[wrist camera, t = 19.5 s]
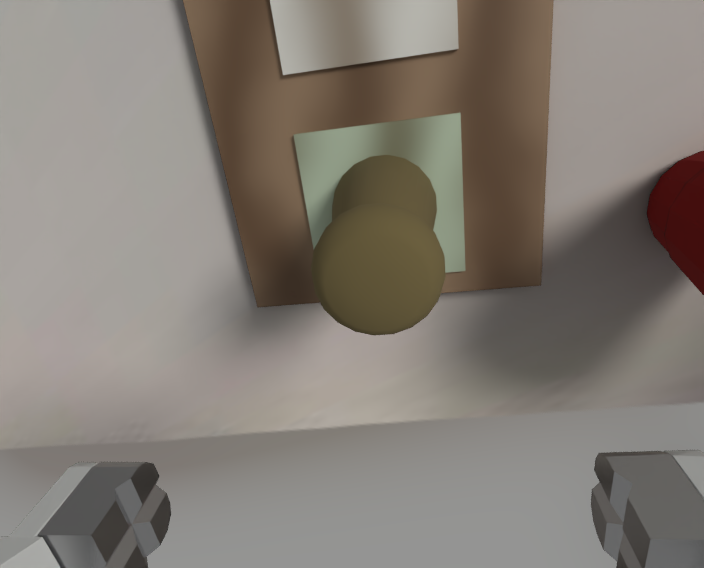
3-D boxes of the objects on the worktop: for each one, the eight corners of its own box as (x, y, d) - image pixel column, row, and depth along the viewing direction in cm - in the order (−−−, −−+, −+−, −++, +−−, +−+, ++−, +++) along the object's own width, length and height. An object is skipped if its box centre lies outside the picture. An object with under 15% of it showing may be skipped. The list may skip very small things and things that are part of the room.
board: (556, -250, 19) (567, -272, 17) (536, 278, 28) (542, 287, 27) (153, -157, 21) (138, -170, 20) (261, 300, 31) (256, 309, 30)
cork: (332, 254, 28) (294, 354, 18) (332, 152, 25) (289, 201, 15) (431, 260, 27) (451, 366, 17) (442, 156, 25) (473, 210, 15)
